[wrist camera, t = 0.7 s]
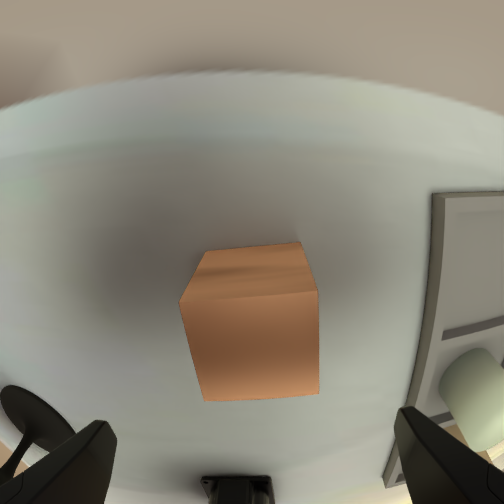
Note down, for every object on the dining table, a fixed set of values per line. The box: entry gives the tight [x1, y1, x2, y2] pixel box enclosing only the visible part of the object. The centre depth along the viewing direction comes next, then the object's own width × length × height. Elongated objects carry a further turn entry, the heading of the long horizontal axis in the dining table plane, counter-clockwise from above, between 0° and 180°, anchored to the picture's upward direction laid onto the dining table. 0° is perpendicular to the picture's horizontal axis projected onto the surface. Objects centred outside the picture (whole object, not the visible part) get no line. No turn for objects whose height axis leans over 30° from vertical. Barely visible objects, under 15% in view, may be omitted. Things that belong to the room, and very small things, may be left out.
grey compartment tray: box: [382, 192, 504, 489], centre depth 16 cm, size 27×10×6 cm, turn 6°
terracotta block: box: [179, 242, 319, 401], centre depth 15 cm, size 5×5×6 cm
